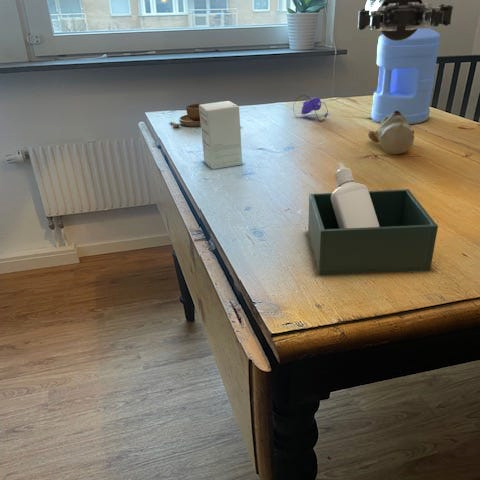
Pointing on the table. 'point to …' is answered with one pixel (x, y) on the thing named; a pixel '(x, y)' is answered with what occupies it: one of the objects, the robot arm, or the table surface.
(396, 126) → the ceramic sculpture
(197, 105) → the place setting
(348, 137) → the table surface
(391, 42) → the water jug
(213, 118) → the white packaging box
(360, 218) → the eye dropper bottle
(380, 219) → the storage bin
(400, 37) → the robot arm
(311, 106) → the game controller
